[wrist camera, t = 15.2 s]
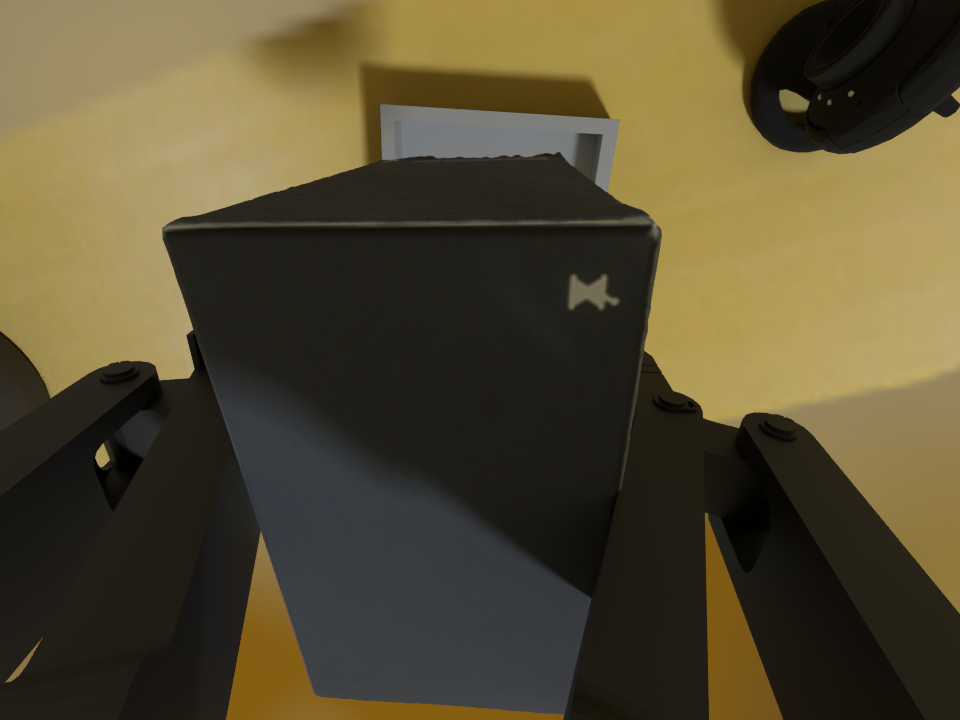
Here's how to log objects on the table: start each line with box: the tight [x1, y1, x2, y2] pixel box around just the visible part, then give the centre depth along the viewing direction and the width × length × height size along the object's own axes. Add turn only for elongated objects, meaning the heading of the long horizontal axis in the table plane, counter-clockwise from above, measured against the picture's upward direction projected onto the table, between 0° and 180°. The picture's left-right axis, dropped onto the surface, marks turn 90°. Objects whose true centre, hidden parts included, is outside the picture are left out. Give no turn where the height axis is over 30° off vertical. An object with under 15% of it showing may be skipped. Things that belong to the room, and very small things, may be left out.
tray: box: [380, 104, 620, 192], centre depth 33 cm, size 14×27×2 cm, turn 177°
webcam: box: [751, 0, 960, 154], centre depth 22 cm, size 8×8×10 cm
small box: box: [162, 152, 662, 715], centre depth 12 cm, size 11×6×10 cm, turn 1°
